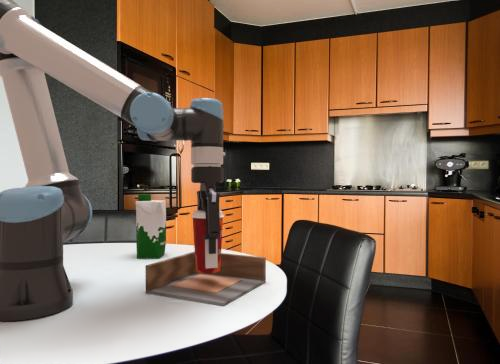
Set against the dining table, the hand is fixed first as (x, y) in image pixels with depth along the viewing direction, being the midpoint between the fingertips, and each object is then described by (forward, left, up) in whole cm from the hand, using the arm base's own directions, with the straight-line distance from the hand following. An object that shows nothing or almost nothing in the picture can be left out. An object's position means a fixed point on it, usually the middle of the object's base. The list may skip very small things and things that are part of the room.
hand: (207, 264), depth 93 cm
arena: (-1, -1, -5) cm, 5 cm away
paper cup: (0, 0, -2) cm, 2 cm away
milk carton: (+21, +35, -5) cm, 41 cm away
